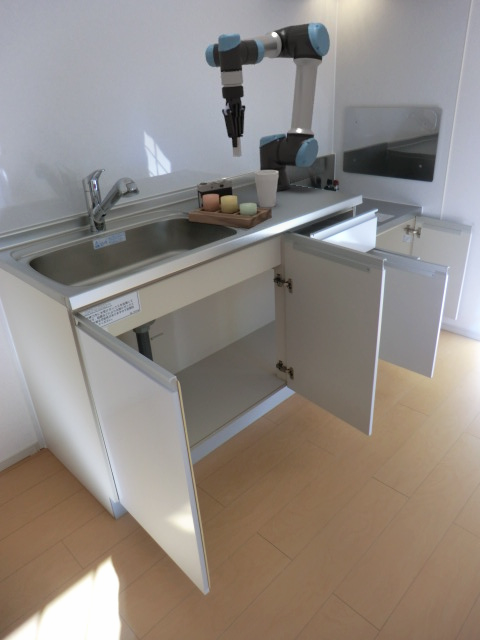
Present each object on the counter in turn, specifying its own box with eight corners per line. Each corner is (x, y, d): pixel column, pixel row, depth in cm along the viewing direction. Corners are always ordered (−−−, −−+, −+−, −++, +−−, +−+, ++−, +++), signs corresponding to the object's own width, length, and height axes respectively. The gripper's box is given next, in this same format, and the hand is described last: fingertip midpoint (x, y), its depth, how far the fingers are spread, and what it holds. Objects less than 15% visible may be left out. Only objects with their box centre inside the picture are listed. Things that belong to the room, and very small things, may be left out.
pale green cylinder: (245, 215, 177) (245, 202, 175) (260, 217, 174) (259, 203, 172) (237, 219, 173) (236, 206, 171) (251, 221, 170) (251, 207, 168)
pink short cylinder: (209, 206, 184) (208, 193, 182) (222, 207, 181) (221, 194, 179) (200, 210, 180) (199, 196, 177) (213, 211, 177) (212, 198, 175)
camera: (224, 200, 205) (222, 176, 200) (233, 204, 199) (232, 179, 194) (194, 206, 199) (192, 181, 194) (203, 210, 193) (201, 184, 188)
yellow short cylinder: (227, 208, 180) (226, 194, 178) (240, 209, 177) (240, 196, 175) (218, 212, 176) (217, 198, 174) (232, 213, 173) (231, 199, 171)
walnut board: (213, 210, 190) (212, 203, 189) (271, 217, 178) (271, 208, 176) (189, 221, 178) (188, 213, 177) (249, 228, 166) (249, 219, 164)
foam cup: (277, 208, 189) (276, 174, 183) (253, 208, 191) (252, 174, 185) (280, 202, 197) (279, 169, 191) (257, 202, 199) (256, 170, 193)
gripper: (232, 84, 174) (237, 152, 185) (213, 87, 164) (219, 159, 175) (250, 83, 170) (254, 153, 181) (232, 86, 160) (237, 159, 172)
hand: (237, 156), depth 178 cm, fingers closed
